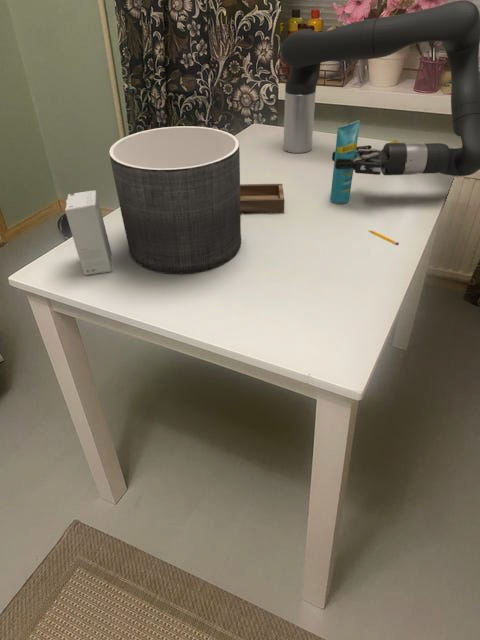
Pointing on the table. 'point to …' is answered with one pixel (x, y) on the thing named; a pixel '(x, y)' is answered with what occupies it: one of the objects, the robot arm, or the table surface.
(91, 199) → the skincare box
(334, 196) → the tube
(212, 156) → the planter
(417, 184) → the table surface
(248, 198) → the tray
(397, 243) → the pencil
